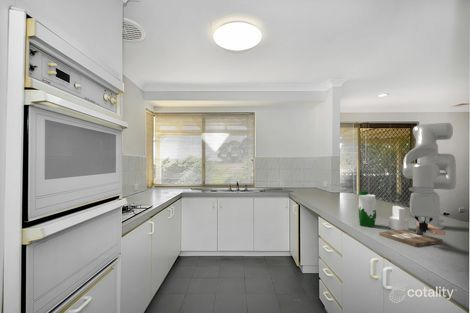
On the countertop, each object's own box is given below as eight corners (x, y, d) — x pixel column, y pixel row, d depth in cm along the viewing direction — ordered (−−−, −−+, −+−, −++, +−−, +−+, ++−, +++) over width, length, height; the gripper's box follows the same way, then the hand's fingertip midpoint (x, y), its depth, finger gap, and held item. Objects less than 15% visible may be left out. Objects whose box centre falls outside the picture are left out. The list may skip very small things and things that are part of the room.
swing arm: (413, 223, 124) (413, 220, 124) (422, 224, 123) (422, 220, 123) (434, 234, 106) (434, 230, 106) (445, 235, 105) (445, 231, 105)
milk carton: (359, 222, 151) (359, 190, 151) (376, 224, 146) (376, 191, 147) (358, 225, 143) (358, 191, 144) (375, 228, 139) (375, 192, 139)
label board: (404, 232, 131) (404, 221, 131) (442, 242, 114) (442, 230, 114) (379, 235, 125) (379, 224, 125) (415, 246, 108) (415, 233, 108)
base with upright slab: (411, 231, 133) (411, 209, 133) (393, 230, 134) (393, 208, 135) (403, 227, 141) (403, 206, 142) (386, 226, 143) (386, 205, 144)
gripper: (404, 190, 112) (404, 231, 111) (446, 192, 105) (447, 236, 104) (402, 189, 118) (402, 227, 118) (441, 191, 111) (442, 232, 111)
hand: (423, 231), depth 111 cm, fingers closed
